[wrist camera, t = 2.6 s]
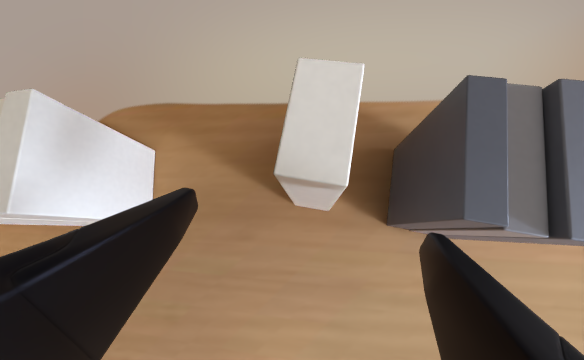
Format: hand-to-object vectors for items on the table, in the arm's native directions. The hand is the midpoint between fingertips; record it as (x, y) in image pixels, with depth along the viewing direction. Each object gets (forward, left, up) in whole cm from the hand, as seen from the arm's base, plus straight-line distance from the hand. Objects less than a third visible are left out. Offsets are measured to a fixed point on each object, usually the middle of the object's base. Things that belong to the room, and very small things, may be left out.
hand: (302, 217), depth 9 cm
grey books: (+8, -6, -11) cm, 15 cm away
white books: (-9, +15, -11) cm, 21 cm away
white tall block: (+4, +2, -11) cm, 12 cm away
